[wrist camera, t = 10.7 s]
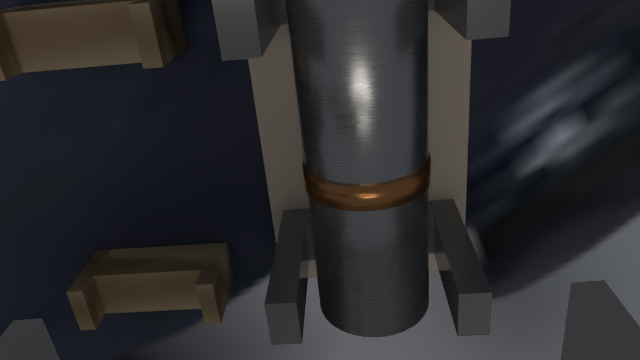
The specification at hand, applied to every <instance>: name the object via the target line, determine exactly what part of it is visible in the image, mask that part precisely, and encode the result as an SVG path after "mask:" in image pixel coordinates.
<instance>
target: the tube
mask: <svg viewBox="0 0 640 360" xmlns="http://www.w3.org/2000/svg"><path fill="white" fill-rule="evenodd" d="M285 2H286V10H287V19H288V28H289V36H290V45H291V54H292V62H293V71H294V80H295V88H296V97H297V106H298V114H299V123H300V132H301V140H302V149H303V158H304V159H303V162H302V167H303V176H304V184H305V190H306V192H307V194H308V201H309V210H310V218H311V227H312V236H313V244H314V253H315V262H316V270H317V278H318V288H319V296H320V305H321V309H322V312H323V314H324V316H325V317H326V319H327V320H328V321H329V322H330V323H331V324H332V325H334V326H335V327H337V328H338V329H340V330H342V331H344V332H347V333H350V334H353V335H358V336H364V337H383V336H389V335H394V334H397V333H400V332H403V331H405V330H407V329H409V328H411V327H413V326H414V325H415V324H417V323H418V322H419V321H420V320H421V319H422V318H423V316H424V315H425V313H426V311H427V309H428V304H429V185H430V181H431V156H430V153H429V151H428V0H285Z"/></svg>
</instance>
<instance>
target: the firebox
mask: <svg viewBox="0 0 640 360" xmlns="http://www.w3.org/2000/svg"><path fill="white" fill-rule="evenodd" d="M212 5H213V11H214V17H215V22H216V28H217V34H218V40H219V45H220V51H221V57H222V61H228V60H240V59H248V62H249V68H250V75H251V81H252V88H253V94H254V101H255V108H256V114H257V121H258V127H259V134H260V140H261V147H262V153H263V160H264V167H265V173H266V180H267V186H268V193H269V199H270V206H271V213H272V219H273V226H274V232H275V239H276V249H275V254H274V259H273V264H272V269H271V274H270V279H269V285H268V290H267V295H266V300H265V309H266V315H267V321H268V327H269V331H270V338H271V344H272V345H274V344H294V343H302V338H303V326H304V315H305V304H306V293H307V281H308V278H309V277H317V270H316V262H315V253H314V244H313V236H312V227H311V218H310V210H309V201H308V194H307V192H306V190H305V184H304V176H303V167H302V162H303V159H304V158H303V149H302V140H301V132H300V123H299V114H298V106H297V97H296V88H295V80H294V71H293V62H292V54H291V45H290V36H289V28H288V19H287V10H286V2H285V0H212ZM510 7H511V0H428V151H429V153H430V156H431V181H430V185H429V271H436V270H439V273H440V276H441V280H442V283H443V287H444V290H445V294H446V297H447V301H448V304H449V308H450V311H451V315H452V318H453V321H454V325H455V329H456V332H457V336H468V335H488V334H490V319H491V303H492V291H491V288H490V286H489V284H488V281H487V279H486V276H485V274H484V271H483V269H482V267H481V264H480V262H479V259H478V257H477V254H476V252H475V250H474V247H473V245H472V242H471V240H470V237H469V235H468V233H467V230H466V228H465V217H466V187H467V158H468V128H469V99H470V69H471V40H474V39H486V38H497V37H509V23H510Z"/></svg>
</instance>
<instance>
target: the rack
mask: <svg viewBox="0 0 640 360" xmlns="http://www.w3.org/2000/svg"><path fill="white" fill-rule="evenodd" d="M186 48H187V42H186V37H185V32H184V27H183V22H182V17H181V12H180V7H179V3H178V0H76V1H66V2H55V3H45V4H35V5H24V6H15V7H11V8H7V9H4V10H0V81H6V80H8V79H10V78H12V77H14V76H16V75H19V74H21V73H24V72H36V71H48V70H59V69H71V68H83V67H94V66H106V65H117V64H129V63H141V62H142V66H143V69H146V68H158V67H164V66H165V65H166V64H168V63H169V62H170V61H171V60H173V59H174V58H175V57H176V56H177V55H179V54H180V53H181V52H182V51H183V50H185V49H186ZM233 281H234V276H233V271H232V266H231V261H230V256H229V251H228V246H227V242H226V243H210V244H193V245H176V246H160V247H143V248H127V249H110V250H97V251H96V252H95V254H94V255H93V256H92V258H91V259H90V260H89V262H88V263H87V264H86V266H85V267H84V269H83V270H82V271H81V273H80V274H79V275H78V277H77V278H76V279H75V281H74V282H73V283H72V285H71V286H70V287H69V289H68V290H67V292H66V293H67V296H68V298H69V301H70V304H71V306H72V309H73V312H74V314H75V317H76V320H77V322H78V325H79V327H80V330H96V328H97V327H98V325H99V323H100V322H101V320H102V318H103V317H104V315H105V314H106V313H125V312H145V311H164V310H184V309H202V314H203V318H204V322H205V324H217V323H221V321H222V318H223V315H224V311H225V308H226V304H227V301H228V298H229V294H230V291H231V288H232V284H233Z"/></svg>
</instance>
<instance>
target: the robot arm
mask: <svg viewBox="0 0 640 360" xmlns="http://www.w3.org/2000/svg"><path fill="white" fill-rule="evenodd" d="M0 360H60V359H59V357H58V355H57V352H56V350H55V348H54V345H53V343H52V341H51V338H50V336H49V334H48V331H47V329H46V326H45V324H44V322H43V319H28V320H13V321H12V323H11V324H10V325H9V326H8V328H7V329H6V330H5V331H4V333H3V334H2V335H1V336H0ZM561 360H640V327H639V325H638V324H637V323H636V321H635V320H634V319H633V317H632V316H631V315H630V314H629V312H628V311H627V310H626V308H625V307H624V306H623V305H622V303H621V302H620V301H619V299H618V298H617V297H616V295H615V294H614V293H613V292H612V290H611V289H610V287H609V286H608V285H607V284H606V282H605V281H604V280H603V281H588V282H574V283H571V289H570V295H569V303H568V311H567V318H566V326H565V334H564V341H563V348H562V355H561Z"/></svg>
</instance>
